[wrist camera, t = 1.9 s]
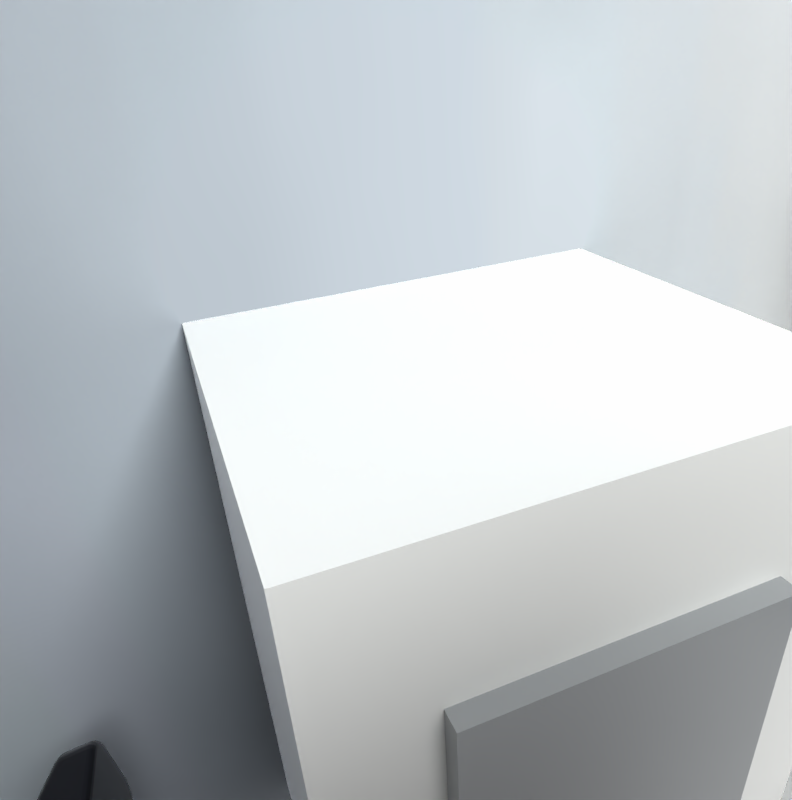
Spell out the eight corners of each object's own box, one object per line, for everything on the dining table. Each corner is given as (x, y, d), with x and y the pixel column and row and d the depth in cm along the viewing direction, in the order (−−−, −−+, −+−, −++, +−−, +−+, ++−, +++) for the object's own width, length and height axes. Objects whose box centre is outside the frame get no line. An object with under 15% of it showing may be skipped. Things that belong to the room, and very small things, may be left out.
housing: (572, 245, 9) (951, 395, 5) (547, 669, 13) (749, 944, 9) (179, 318, 7) (271, 617, 3) (285, 774, 11) (384, 1162, 7)
